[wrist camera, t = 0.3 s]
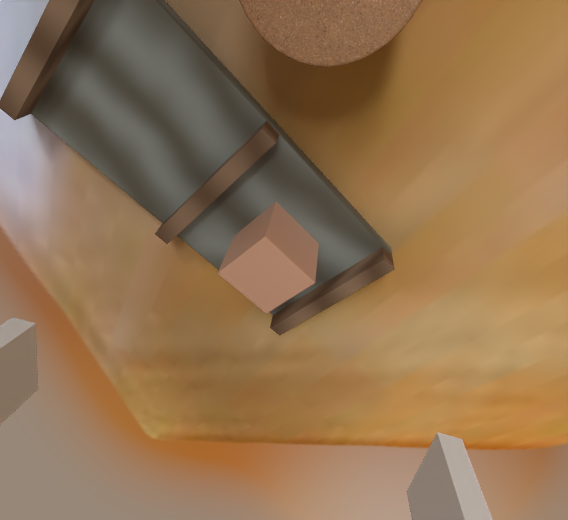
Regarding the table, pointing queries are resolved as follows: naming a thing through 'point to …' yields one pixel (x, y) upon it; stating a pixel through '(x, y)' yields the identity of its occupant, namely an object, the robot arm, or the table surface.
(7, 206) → the table surface
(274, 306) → the terracotta block
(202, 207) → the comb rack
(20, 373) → the robot arm
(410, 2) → the lidded jar
